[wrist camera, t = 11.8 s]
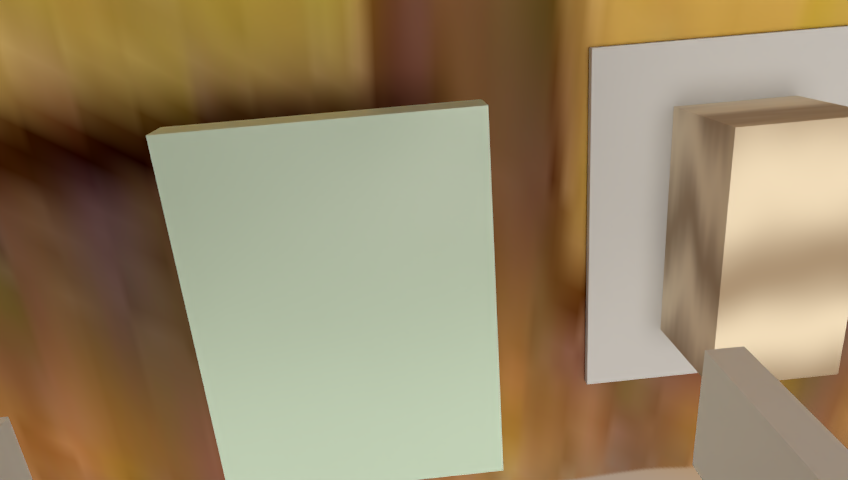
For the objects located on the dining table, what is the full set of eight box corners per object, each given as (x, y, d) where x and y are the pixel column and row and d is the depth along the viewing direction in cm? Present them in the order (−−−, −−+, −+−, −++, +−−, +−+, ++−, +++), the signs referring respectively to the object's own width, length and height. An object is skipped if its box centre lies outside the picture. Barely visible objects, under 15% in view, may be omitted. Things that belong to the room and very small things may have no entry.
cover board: (160, 127, 24) (145, 135, 22) (481, 98, 24) (488, 105, 22) (237, 474, 29) (230, 500, 28) (497, 446, 30) (503, 470, 28)
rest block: (673, 106, 30) (735, 127, 25) (796, 95, 30) (883, 113, 25) (660, 329, 34) (710, 387, 29) (768, 318, 35) (837, 374, 29)
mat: (589, 47, 29) (591, 48, 29) (882, 22, 30) (888, 22, 30) (584, 380, 36) (586, 384, 35) (827, 355, 36) (831, 358, 36)
